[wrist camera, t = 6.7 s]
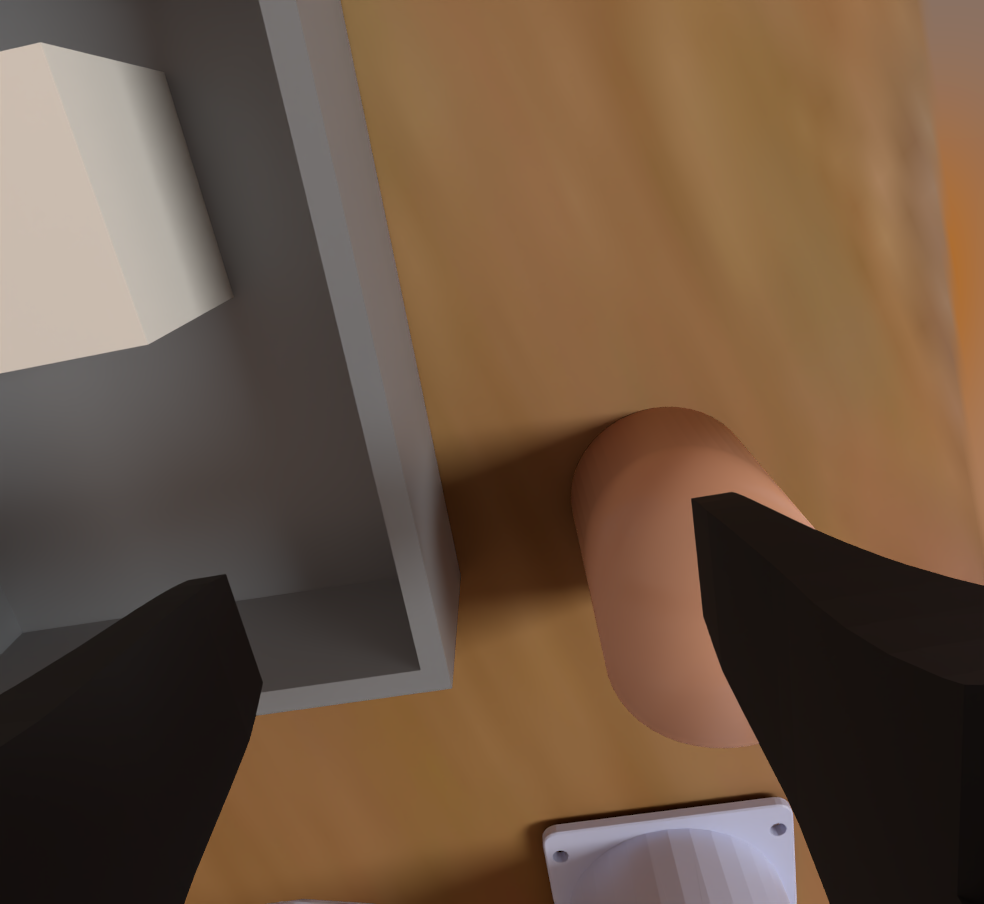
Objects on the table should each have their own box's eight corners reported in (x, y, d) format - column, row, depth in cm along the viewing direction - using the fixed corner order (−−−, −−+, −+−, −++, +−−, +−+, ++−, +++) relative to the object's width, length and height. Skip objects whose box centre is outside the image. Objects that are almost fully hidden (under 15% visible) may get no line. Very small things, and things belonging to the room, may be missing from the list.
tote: (460, 576, 22) (452, 688, 18) (22, 641, 23) (-97, 764, 18) (311, -139, 16) (238, -255, 12) (-276, -17, 17) (-565, -80, 12)
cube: (233, 296, 19) (148, 344, 14) (38, 335, 19) (-107, 394, 15) (163, 72, 17) (40, 42, 12) (-50, 119, 18) (-246, 107, 13)
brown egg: (757, 559, 22) (868, 730, 16) (582, 585, 22) (619, 762, 16) (748, 392, 20) (868, 506, 14) (559, 422, 21) (588, 547, 14)
